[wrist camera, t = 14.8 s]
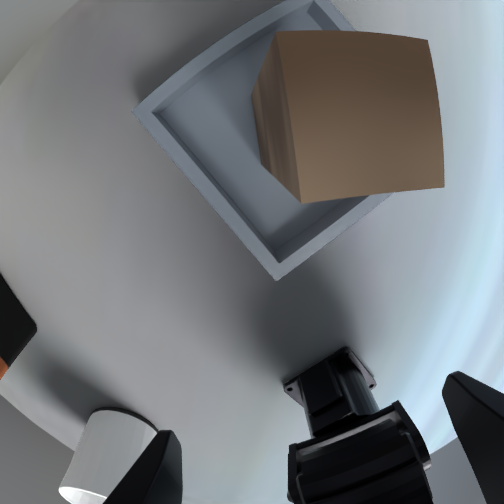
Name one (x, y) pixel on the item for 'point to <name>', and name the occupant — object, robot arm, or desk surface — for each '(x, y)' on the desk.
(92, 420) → the mug
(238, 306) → the desk surface
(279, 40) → the walnut block
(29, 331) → the battery
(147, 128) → the tray
